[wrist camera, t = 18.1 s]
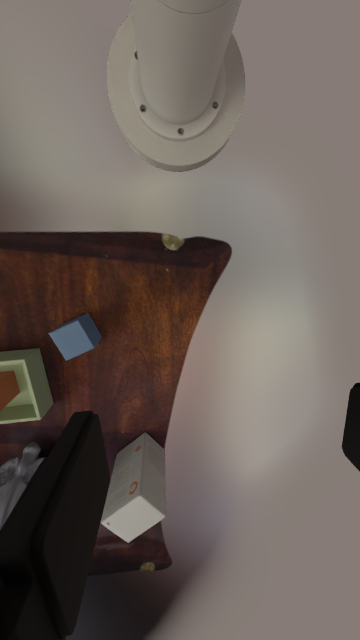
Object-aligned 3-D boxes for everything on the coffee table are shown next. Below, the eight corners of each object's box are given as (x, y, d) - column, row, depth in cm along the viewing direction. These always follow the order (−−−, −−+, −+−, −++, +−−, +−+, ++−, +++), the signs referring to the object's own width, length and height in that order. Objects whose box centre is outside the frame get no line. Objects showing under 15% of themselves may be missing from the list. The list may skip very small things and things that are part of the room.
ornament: (89, 431, 45) (36, 553, 27) (89, 507, 50) (45, 655, 32) (-7, 428, 44) (-135, 556, 25) (3, 507, 49) (-97, 663, 30)
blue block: (62, 324, 39) (48, 333, 35) (88, 312, 39) (77, 320, 34) (77, 348, 41) (66, 361, 36) (102, 337, 41) (94, 348, 36)
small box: (136, 470, 49) (127, 544, 36) (115, 453, 47) (98, 523, 35) (166, 449, 48) (167, 517, 35) (145, 430, 46) (139, 495, 34)
